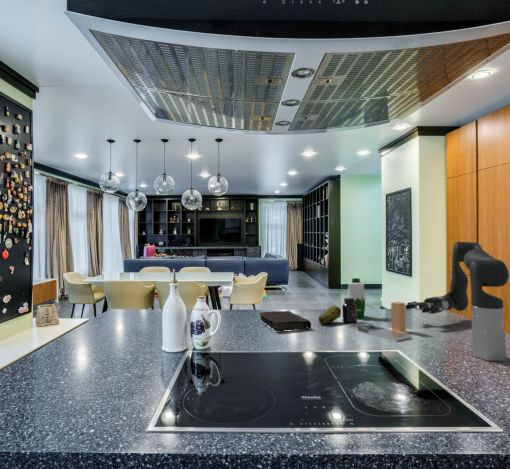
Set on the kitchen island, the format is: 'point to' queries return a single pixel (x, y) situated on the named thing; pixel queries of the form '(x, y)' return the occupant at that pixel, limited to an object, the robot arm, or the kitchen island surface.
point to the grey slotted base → (380, 332)
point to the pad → (402, 331)
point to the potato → (330, 315)
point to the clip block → (398, 316)
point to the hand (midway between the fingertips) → (414, 308)
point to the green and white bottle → (357, 295)
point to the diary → (284, 320)
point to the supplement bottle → (349, 311)
